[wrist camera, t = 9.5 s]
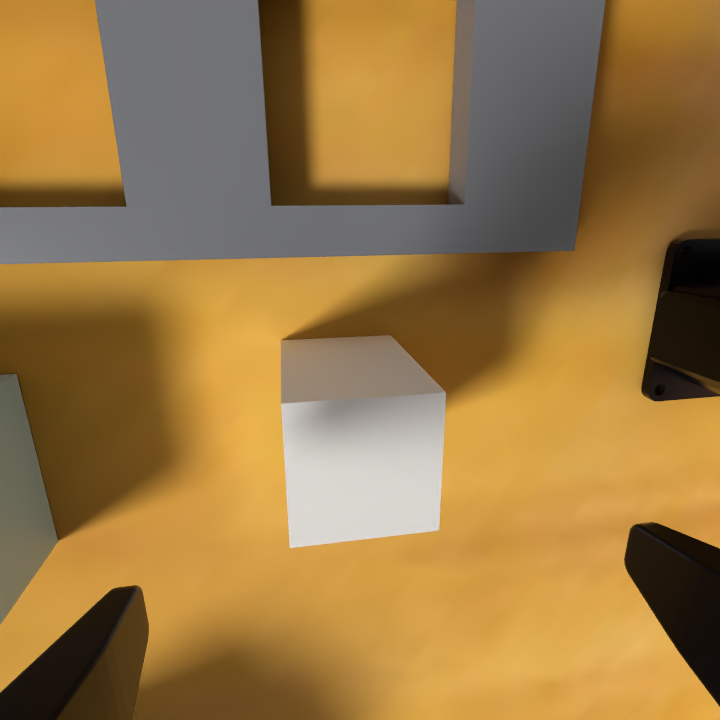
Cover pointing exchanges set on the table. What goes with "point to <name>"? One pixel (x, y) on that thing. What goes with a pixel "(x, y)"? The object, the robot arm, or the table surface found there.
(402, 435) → the white rectangular prism
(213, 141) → the pin board
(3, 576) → the housing
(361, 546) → the table surface
